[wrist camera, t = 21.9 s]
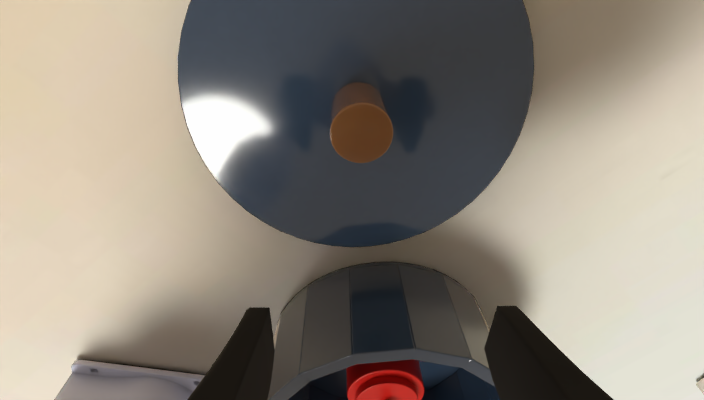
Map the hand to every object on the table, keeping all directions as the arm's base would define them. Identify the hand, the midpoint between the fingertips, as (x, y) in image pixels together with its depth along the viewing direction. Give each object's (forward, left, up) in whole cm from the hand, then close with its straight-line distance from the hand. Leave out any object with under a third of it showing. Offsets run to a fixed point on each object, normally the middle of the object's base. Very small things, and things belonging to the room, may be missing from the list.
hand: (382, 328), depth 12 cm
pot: (+4, -12, -9) cm, 16 cm away
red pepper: (+4, -12, -9) cm, 15 cm away
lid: (-2, +4, -9) cm, 10 cm away
